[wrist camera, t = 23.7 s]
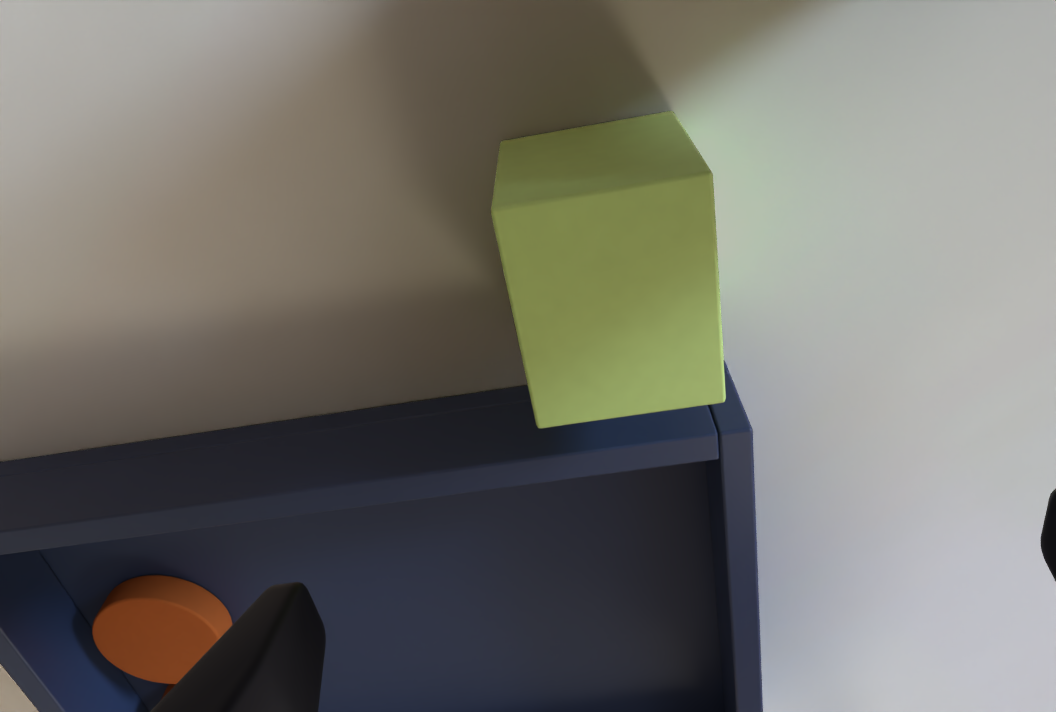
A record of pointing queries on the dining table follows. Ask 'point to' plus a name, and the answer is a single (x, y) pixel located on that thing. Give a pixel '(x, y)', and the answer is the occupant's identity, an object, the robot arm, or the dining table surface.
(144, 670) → the orange flat cylinder
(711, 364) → the sponge
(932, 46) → the dining table surface
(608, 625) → the tray
